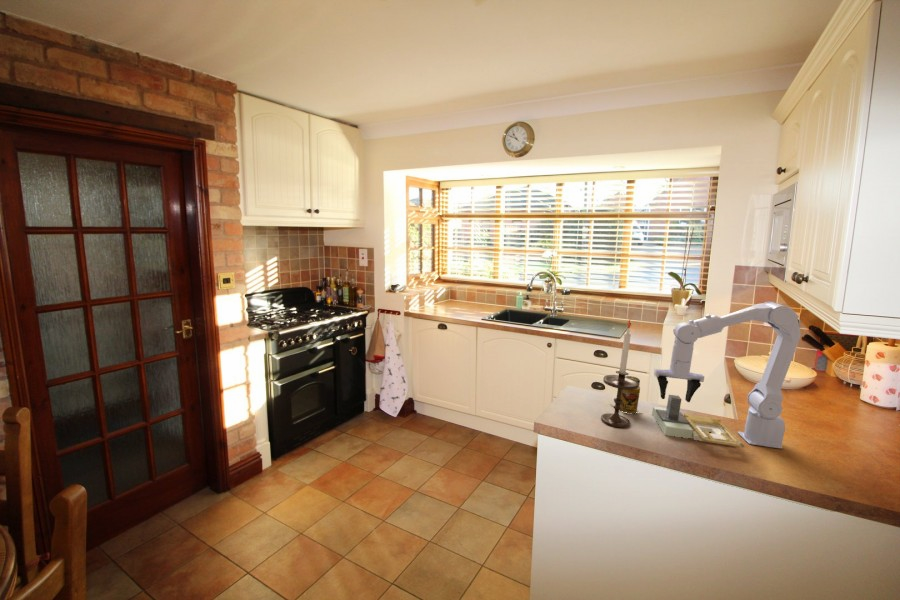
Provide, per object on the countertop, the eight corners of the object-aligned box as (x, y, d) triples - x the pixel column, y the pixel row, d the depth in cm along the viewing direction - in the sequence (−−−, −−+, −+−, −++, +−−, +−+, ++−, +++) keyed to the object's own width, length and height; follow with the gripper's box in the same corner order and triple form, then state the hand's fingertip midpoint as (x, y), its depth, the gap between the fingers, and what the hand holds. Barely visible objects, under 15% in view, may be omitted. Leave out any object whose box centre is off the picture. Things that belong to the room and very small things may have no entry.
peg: (679, 419, 146) (684, 394, 144) (688, 429, 138) (692, 403, 137) (654, 415, 147) (658, 390, 146) (661, 425, 139) (665, 399, 138)
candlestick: (603, 411, 150) (616, 314, 145) (635, 421, 145) (651, 319, 139) (594, 422, 142) (607, 318, 136) (628, 432, 136) (644, 324, 130)
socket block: (718, 429, 142) (719, 423, 142) (733, 445, 132) (734, 438, 131) (682, 424, 144) (683, 418, 144) (694, 440, 134) (695, 432, 133)
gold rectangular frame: (718, 424, 142) (719, 418, 142) (743, 450, 125) (744, 443, 125) (683, 419, 144) (683, 413, 144) (702, 444, 127) (703, 437, 127)
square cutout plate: (675, 417, 150) (676, 409, 149) (691, 438, 134) (692, 430, 134) (651, 414, 151) (653, 406, 151) (665, 435, 136) (666, 426, 135)
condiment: (625, 414, 150) (630, 382, 148) (610, 404, 157) (614, 373, 155) (642, 413, 152) (647, 381, 150) (626, 403, 160) (631, 372, 158)
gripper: (700, 358, 141) (694, 397, 144) (654, 353, 144) (648, 392, 146) (709, 365, 135) (702, 406, 137) (660, 359, 137) (653, 399, 139)
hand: (674, 399), depth 141 cm, fingers open, 7 cm apart
